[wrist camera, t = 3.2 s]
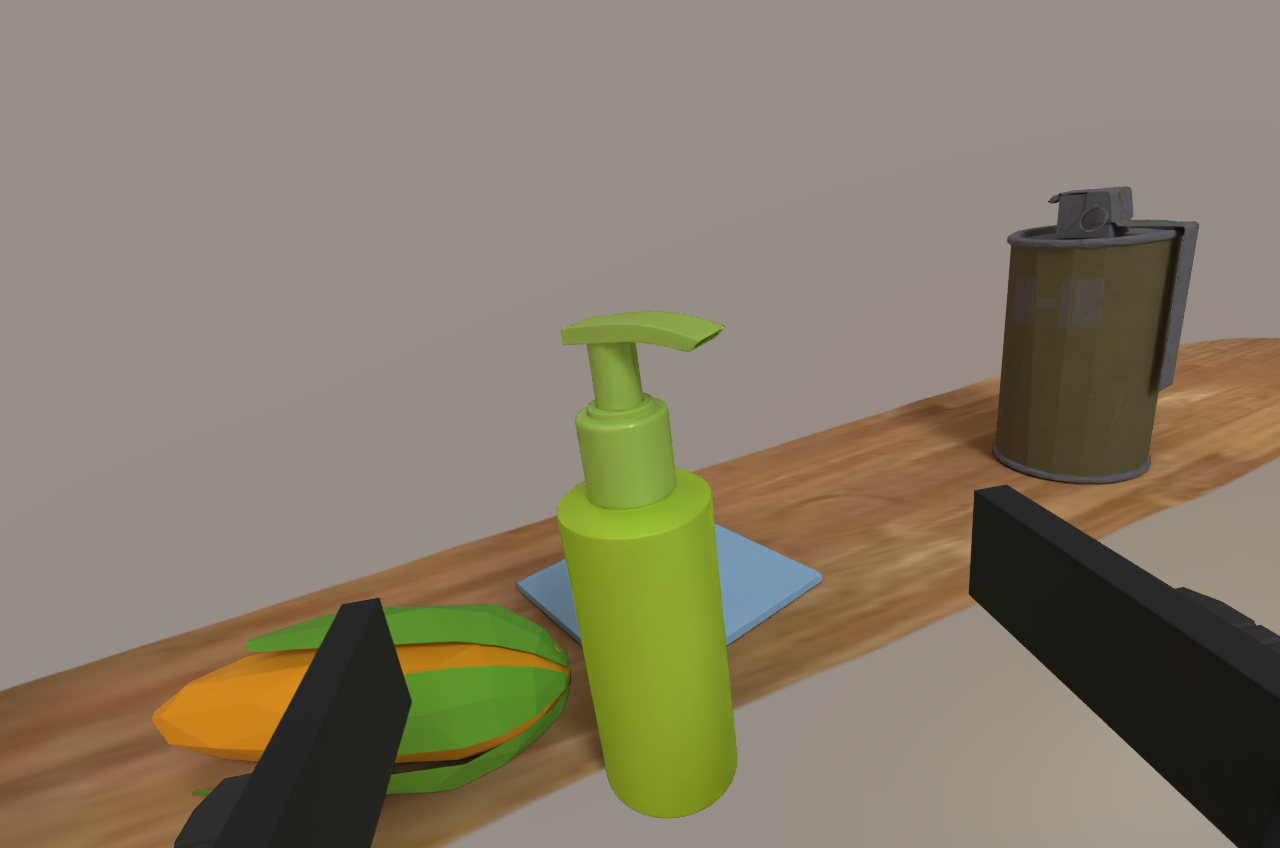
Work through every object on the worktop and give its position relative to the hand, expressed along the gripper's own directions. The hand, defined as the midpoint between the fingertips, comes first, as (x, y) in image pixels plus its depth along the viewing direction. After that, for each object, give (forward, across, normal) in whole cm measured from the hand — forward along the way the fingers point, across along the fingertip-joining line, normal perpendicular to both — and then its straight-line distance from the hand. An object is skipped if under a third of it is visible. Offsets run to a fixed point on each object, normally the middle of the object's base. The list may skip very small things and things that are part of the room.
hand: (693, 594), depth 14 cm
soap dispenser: (+10, 0, -16) cm, 18 cm away
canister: (+31, +35, -16) cm, 49 cm away
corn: (+13, -14, -16) cm, 25 cm away
